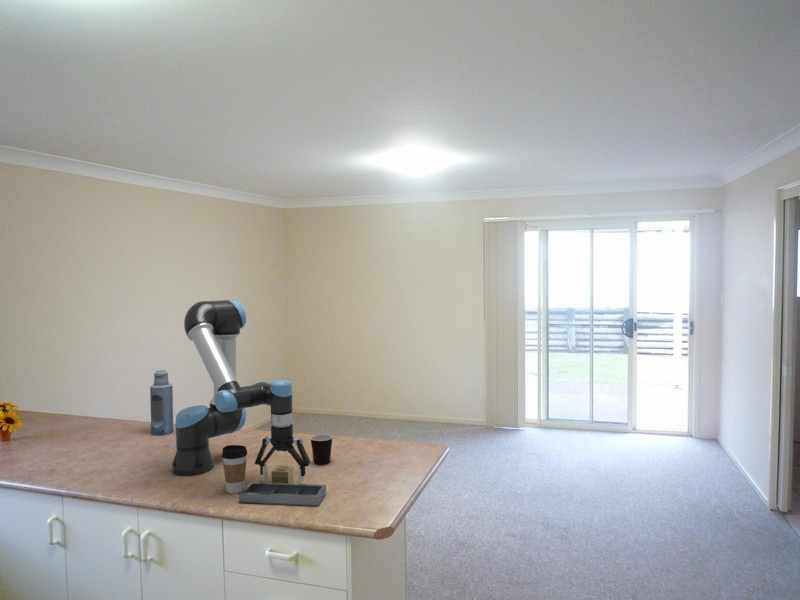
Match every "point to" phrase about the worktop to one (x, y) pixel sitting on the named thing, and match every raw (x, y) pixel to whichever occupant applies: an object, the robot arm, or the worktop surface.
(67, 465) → the worktop surface
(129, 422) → the worktop surface
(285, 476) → the recessed panel cube
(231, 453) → the coffee cup
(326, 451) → the coffee mug
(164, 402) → the bottle
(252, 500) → the grey divided tray
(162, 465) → the worktop surface
